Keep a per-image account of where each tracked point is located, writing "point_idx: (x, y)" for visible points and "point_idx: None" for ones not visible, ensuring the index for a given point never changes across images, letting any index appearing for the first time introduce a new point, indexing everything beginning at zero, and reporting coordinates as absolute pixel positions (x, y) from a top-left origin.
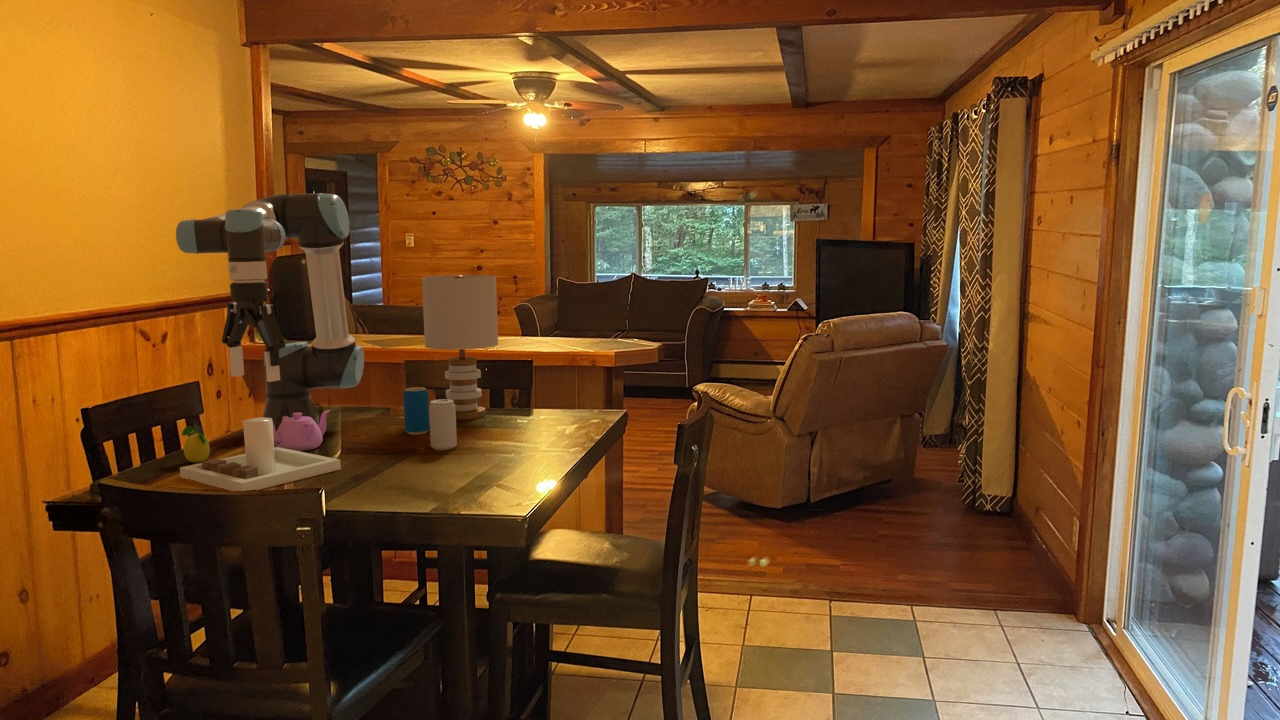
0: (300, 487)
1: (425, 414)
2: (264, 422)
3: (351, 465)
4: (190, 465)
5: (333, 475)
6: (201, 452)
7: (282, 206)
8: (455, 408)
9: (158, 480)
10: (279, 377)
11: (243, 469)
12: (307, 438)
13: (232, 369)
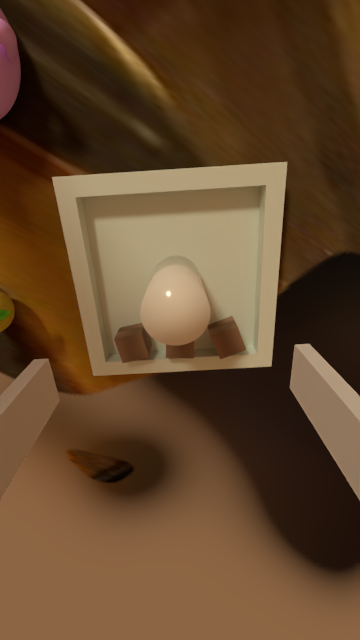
0: (294, 276)
1: None
2: (209, 314)
3: (244, 105)
4: (91, 360)
5: None
6: (10, 313)
7: None
8: None
9: (69, 380)
10: (314, 351)
11: (233, 348)
12: (13, 61)
13: (45, 421)
